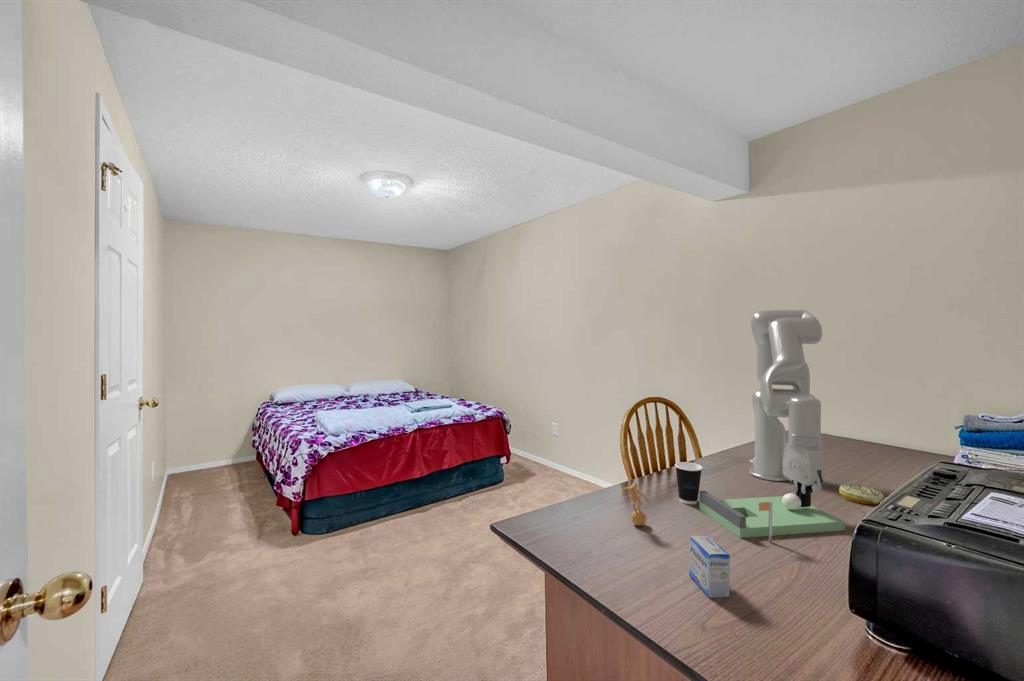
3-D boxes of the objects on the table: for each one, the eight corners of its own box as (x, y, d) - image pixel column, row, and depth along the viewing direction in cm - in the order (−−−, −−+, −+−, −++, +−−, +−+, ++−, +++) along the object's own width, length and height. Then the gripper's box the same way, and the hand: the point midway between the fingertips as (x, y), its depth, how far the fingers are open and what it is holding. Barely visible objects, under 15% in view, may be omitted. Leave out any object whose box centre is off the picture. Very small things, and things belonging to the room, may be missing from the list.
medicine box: (688, 576, 92) (688, 535, 92) (708, 575, 93) (709, 535, 92) (708, 598, 84) (708, 554, 84) (730, 597, 85) (730, 553, 84)
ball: (788, 506, 123) (776, 503, 122) (793, 491, 123) (781, 489, 122) (802, 514, 119) (789, 511, 118) (807, 499, 119) (794, 496, 118)
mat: (699, 509, 127) (699, 490, 127) (791, 503, 131) (791, 485, 131) (739, 538, 109) (740, 516, 109) (844, 530, 113) (845, 510, 113)
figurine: (656, 528, 115) (656, 483, 114) (644, 535, 111) (644, 488, 110) (629, 518, 121) (629, 475, 121) (616, 524, 117) (617, 480, 117)
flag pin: (757, 542, 107) (758, 502, 107) (770, 541, 107) (770, 501, 107) (759, 543, 106) (760, 503, 106) (772, 542, 107) (773, 502, 106)
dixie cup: (689, 495, 138) (689, 460, 138) (708, 504, 130) (708, 468, 130) (668, 498, 135) (669, 463, 135) (687, 508, 128) (687, 471, 127)
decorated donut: (885, 509, 127) (885, 497, 127) (839, 501, 133) (840, 489, 133) (881, 498, 135) (881, 486, 135) (838, 491, 142) (838, 479, 142)
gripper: (772, 435, 128) (771, 496, 128) (814, 448, 113) (813, 518, 113) (794, 434, 129) (794, 495, 129) (839, 447, 114) (838, 516, 115)
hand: (803, 505), depth 121 cm, fingers closed
